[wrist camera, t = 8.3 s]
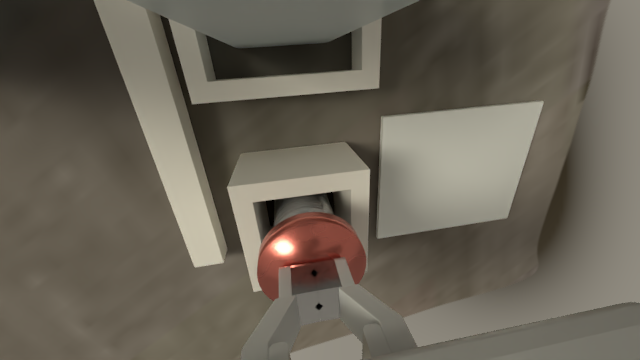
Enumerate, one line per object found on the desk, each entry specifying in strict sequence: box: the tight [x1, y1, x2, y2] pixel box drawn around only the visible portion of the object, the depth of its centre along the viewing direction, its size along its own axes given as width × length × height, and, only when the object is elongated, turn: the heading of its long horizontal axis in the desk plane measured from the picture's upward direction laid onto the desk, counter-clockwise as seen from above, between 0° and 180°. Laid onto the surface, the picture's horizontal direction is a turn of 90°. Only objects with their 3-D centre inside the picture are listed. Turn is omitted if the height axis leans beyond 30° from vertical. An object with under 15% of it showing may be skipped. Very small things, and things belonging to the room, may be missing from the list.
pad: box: [376, 101, 544, 239], centre depth 19 cm, size 10×12×1 cm
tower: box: [227, 142, 370, 292], centre depth 16 cm, size 7×7×5 cm
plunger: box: [257, 193, 366, 301], centre depth 14 cm, size 5×5×7 cm
